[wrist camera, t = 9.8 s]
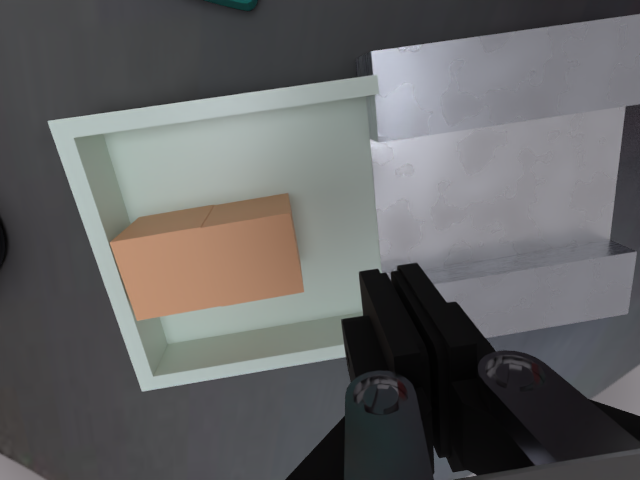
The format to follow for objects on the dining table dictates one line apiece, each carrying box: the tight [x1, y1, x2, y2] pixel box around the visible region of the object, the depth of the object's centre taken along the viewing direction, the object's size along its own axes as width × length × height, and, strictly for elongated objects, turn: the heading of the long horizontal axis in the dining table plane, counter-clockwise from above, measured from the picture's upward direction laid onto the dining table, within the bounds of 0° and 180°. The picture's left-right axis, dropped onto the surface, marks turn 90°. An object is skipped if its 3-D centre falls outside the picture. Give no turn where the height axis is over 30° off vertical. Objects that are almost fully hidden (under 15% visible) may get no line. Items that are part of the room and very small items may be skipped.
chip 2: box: [201, 193, 304, 307], centre depth 21 cm, size 4×4×4 cm
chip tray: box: [48, 75, 381, 391], centre depth 22 cm, size 14×14×5 cm
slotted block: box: [356, 14, 640, 338], centre depth 23 cm, size 14×16×4 cm
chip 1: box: [110, 205, 221, 321], centre depth 21 cm, size 4×4×4 cm
